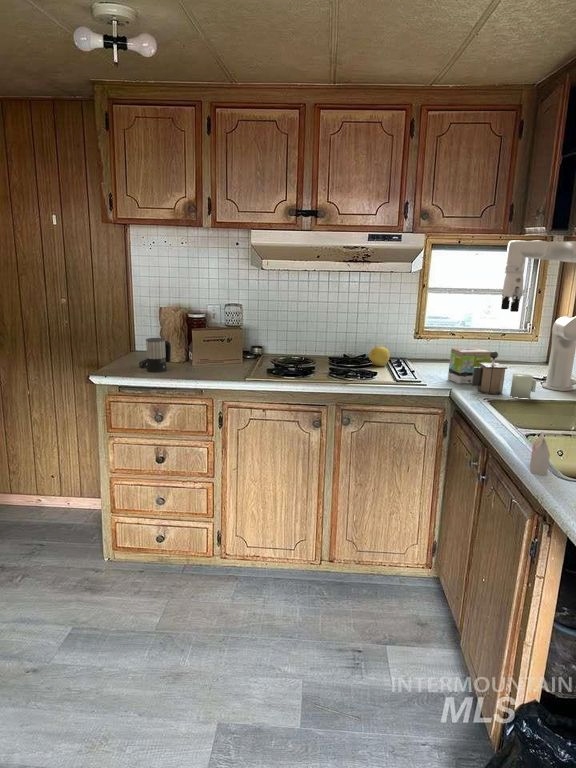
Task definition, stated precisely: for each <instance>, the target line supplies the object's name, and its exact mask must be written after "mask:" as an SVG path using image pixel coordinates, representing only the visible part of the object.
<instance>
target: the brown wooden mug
mask: <svg viewBox="0 0 576 768" xmlns="http://www.w3.org/2000/svg"><path fill="white" fill-rule="evenodd" d="M479 364H480V367H474V368H473V376H472V383H471V386H472V387H476V390H477V392H478V393H481V394H484V395H489V396H491V395H493V396H496V395H497V396H499V394H500V395H502V394H503V392H504V383H505V376H506V375H505V374H506V370H507V369H508V367H507V366H505V365H503V364H501V363H499V362H494V366H492V362H490V363H479Z"/></svg>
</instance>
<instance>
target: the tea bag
mask: <svg viewBox="0 0 576 768" xmlns="http://www.w3.org/2000/svg"><path fill="white" fill-rule="evenodd" d="M531 450H532V451H531V454H530V455H531V456H530V457H531V458H530V463H529V467H530V474H531V475H538V476H544V477H547V475H548V468H549V462H550V456H551V454H550V449H549V446H548V443H547V441H546V439H545V434H544V431H541V433H540V434H539V436H538V437H537V439H536V440H535V441H534V443H533V444H532V449H531Z"/></svg>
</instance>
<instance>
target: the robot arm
mask: <svg viewBox="0 0 576 768" xmlns="http://www.w3.org/2000/svg"><path fill="white" fill-rule="evenodd" d="M526 259H529V260H530V259H531V260H532V259H533V260H548V261H559V262H566V263H576V241H573V240H571V241H569V240H568V241H543V240H540V239H538V240H531V241H530V240H529V241H526V240H510V241H509V242H508V245H507V252H506V261H505V269H504V274H505V276H504V280H503V286H502V287H503V288H502V297H501V308H500V309H501V310H509V309H510V310H509V311H510V312H512V313H513V312H514V313H515V312H519V309H520V302H521V299H522V297H523V293H524V292H523V289H524V274H525V266H526V261H527V260H526ZM510 298H511V300H510ZM510 302H511V303H510ZM551 332H552V335H551V347H550V352H549V353H550V354H549V361H548V367H547V373H546V380H545V381H544V382H541V387H543V388H544V389H548V390H551V391H559V392H571V391H573V390H574V386H575V385H576V379H573V378H572V375H573V369H574V361H575V355H576V315H575V316H574V317H572V316H570V315H569V316H568V315H563V316H561V317H559V318H557V319H556V320H555V322H554V323H553V325H552V331H551Z"/></svg>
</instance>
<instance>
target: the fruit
mask: <svg viewBox="0 0 576 768" xmlns="http://www.w3.org/2000/svg"><path fill="white" fill-rule="evenodd" d="M390 355H391V354H390V350H389V349H388V348H386V347H384V346H375V347H374V348H372V349H371V350H370V352H369V354H368V358H369V361H370V360H371V361H372V363H371V364H372V365H373V366H376V367H383V366H386V365H387V364H388V362H389V360H390ZM371 361H370V362H371Z"/></svg>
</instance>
